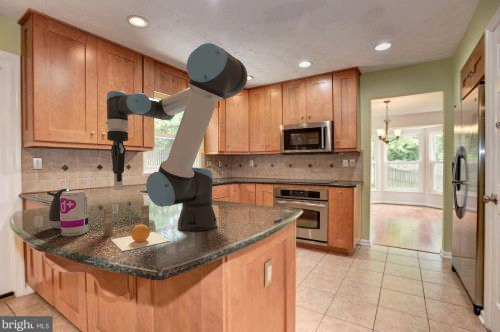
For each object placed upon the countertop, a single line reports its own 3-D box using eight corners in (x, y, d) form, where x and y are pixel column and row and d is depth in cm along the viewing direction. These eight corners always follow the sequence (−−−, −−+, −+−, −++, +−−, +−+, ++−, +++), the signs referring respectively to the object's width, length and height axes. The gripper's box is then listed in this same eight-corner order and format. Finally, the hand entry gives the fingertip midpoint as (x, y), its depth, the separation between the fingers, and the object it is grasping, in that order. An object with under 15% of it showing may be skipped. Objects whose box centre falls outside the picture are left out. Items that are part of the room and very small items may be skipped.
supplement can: (74, 237, 85) (73, 193, 85) (54, 236, 87) (53, 192, 87) (93, 231, 93) (93, 190, 93) (75, 229, 95) (74, 190, 95)
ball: (152, 224, 80) (146, 221, 84) (134, 227, 77) (128, 224, 81) (152, 242, 80) (146, 238, 85) (134, 245, 77) (128, 241, 81)
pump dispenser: (46, 227, 99) (45, 188, 99) (78, 222, 106) (77, 186, 106) (48, 232, 91) (48, 190, 91) (82, 227, 98) (82, 188, 98)
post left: (113, 235, 88) (113, 209, 88) (105, 236, 86) (104, 210, 86) (111, 233, 90) (111, 208, 90) (103, 234, 88) (103, 209, 88)
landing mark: (169, 241, 81) (169, 240, 81) (122, 251, 72) (122, 250, 72) (153, 232, 91) (153, 231, 91) (110, 240, 82) (110, 239, 82)
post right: (150, 228, 96) (149, 205, 96) (143, 230, 94) (142, 206, 94) (147, 227, 98) (147, 204, 98) (140, 228, 96) (140, 205, 96)
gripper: (103, 131, 104) (104, 188, 104) (111, 128, 94) (111, 191, 94) (123, 133, 109) (124, 187, 109) (132, 130, 99) (133, 190, 99)
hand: (118, 189), depth 102 cm, fingers closed
